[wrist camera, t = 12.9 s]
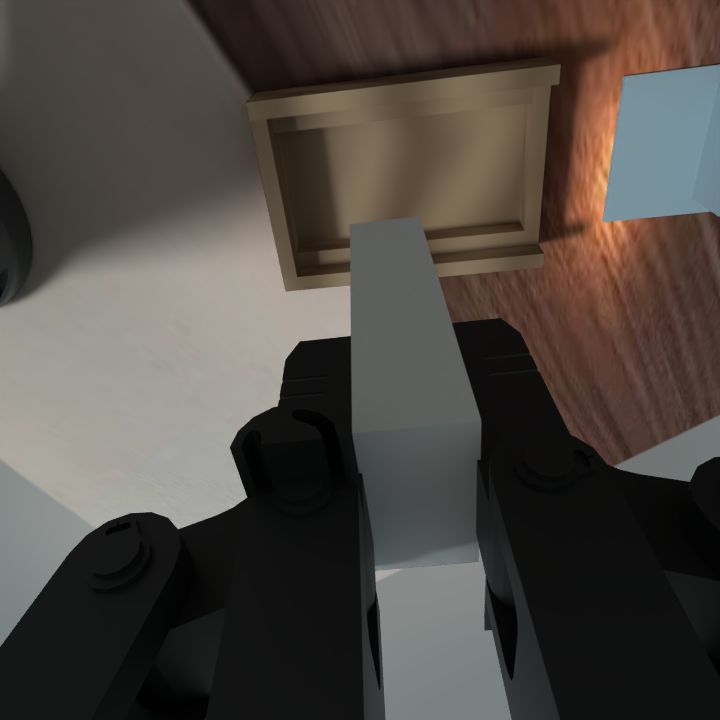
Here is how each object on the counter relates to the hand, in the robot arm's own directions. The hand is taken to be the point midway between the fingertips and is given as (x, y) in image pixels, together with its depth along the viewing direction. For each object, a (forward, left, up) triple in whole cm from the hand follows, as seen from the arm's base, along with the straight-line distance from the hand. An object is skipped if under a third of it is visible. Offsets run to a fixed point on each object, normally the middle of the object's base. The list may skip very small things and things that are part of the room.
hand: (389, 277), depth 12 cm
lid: (+21, -4, -23) cm, 32 cm away
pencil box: (+1, -4, -23) cm, 23 cm away
